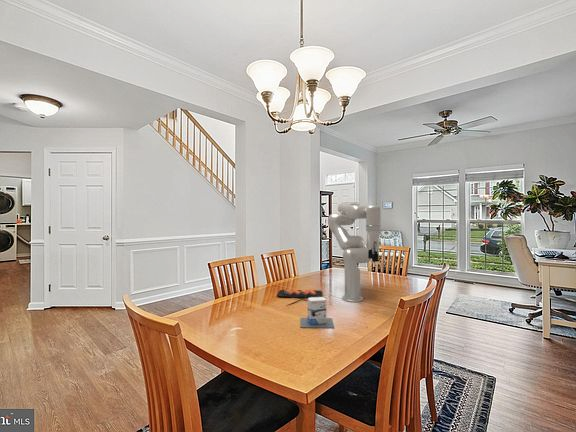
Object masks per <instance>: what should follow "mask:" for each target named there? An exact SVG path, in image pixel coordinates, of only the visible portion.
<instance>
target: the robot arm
mask: <svg viewBox="0 0 576 432" xmlns="http://www.w3.org/2000/svg"><path fill="white" fill-rule="evenodd" d="M363 219H364V220H365V231H366V232H367V233H366V241H365V240H364V238H363V237H362V236H361V235H350V234H349V233H348V230H347V229H345V227H343V226H352V225H353V224H354V223H355V222H356V220H363ZM327 224H328V228H329V230H330V231H331V233H332V234H333V235H334V237H335V238H336V241H337V243H338V245H339V247H340V249H341V250H342V251H343V252H342V260H343V265H344V295H342V296H341V300H343V301H345V302H347V303H348V302H349V303H359V302H362V301H364V298H363V296H361V269H360V267H359V266H358V265H359V264H367V263H370V262H373V263H376V262H379V249H380V236H379V235H380V234H379V232H381V206H379V205H363V204H362V205H360V203H358V202H356V201H343V202H340V203H339V204H338V206H337V212H334V213H331V214H329V216H328V218H327Z"/></svg>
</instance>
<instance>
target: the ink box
mask: <svg viewBox="0 0 576 432" xmlns="http://www.w3.org/2000/svg"><path fill="white" fill-rule="evenodd" d="M307 300H308V301H307V318H308V322H309V324H323V323H326V318H327V299H326V298H325V297H324V296H322V297H307Z"/></svg>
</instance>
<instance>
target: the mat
mask: <svg viewBox="0 0 576 432" xmlns="http://www.w3.org/2000/svg"><path fill="white" fill-rule="evenodd" d="M299 328H301V329H335V325H334V321H333V318H332V317H326V323H323V324H309V322H308V317H300V327H299Z"/></svg>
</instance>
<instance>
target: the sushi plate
mask: <svg viewBox="0 0 576 432" xmlns="http://www.w3.org/2000/svg"><path fill="white" fill-rule="evenodd" d="M276 296H277V297H281V298H282V297H284V298H294V299H298V300H296V301H294V302H291V303H289V304H287V305H286V304H285V307H288V306H292V305H294V304H295V303H298V302H300V301H301V300H302V301H306V302H308V298H311V297H323V291H322V290H314V289H313V290H312V289H295V288H294V289H280V290H278V292H277V295H276Z"/></svg>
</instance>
